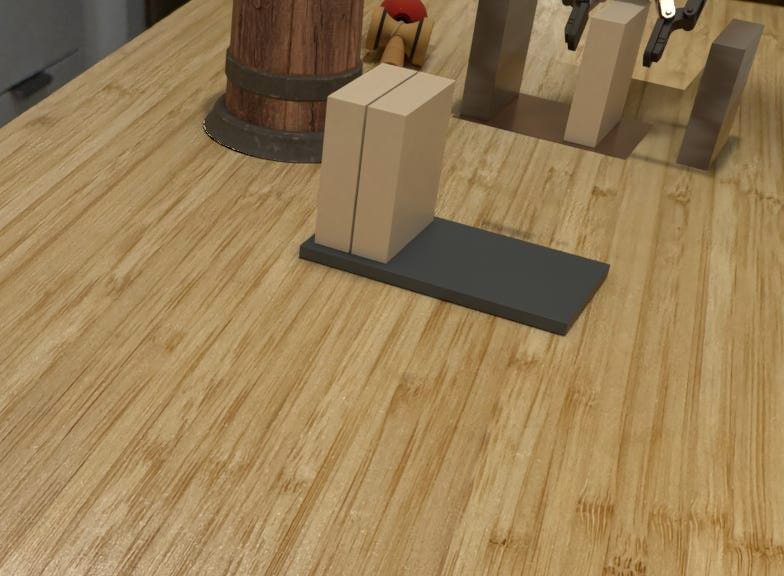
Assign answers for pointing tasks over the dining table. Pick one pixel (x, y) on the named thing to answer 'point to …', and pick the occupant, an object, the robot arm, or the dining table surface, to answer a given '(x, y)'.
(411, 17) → the kendama
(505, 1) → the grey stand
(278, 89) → the tankard
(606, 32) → the beige rectangular block
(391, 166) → the dark base with blocks
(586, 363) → the dining table surface
